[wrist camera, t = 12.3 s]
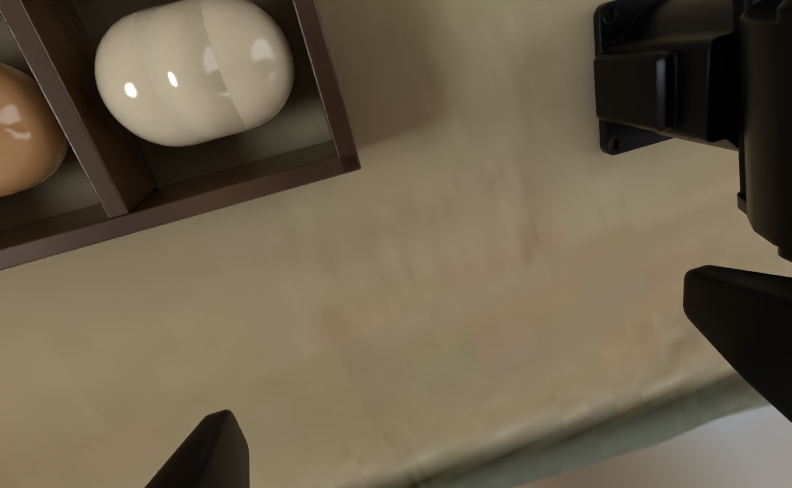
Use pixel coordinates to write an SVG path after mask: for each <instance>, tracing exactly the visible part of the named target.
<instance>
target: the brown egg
mask: <svg viewBox="0 0 792 488" xmlns="http://www.w3.org/2000/svg"><path fill="white" fill-rule="evenodd" d="M68 145H69V142H68V140H67V138H66V136H65V134H64V132H63V130H62V129H61V127H60V125H59V123H58V121H57V119H56V117H55V115H54V113H53V112H52V110H51V108H50V106H49V104H48V102H47V100H46V98H45V96H44V94H43V93H42V91H41V89H40V87H39V85H38V83H37V81H36V80H35V79H34V78H32V77H31V76H29V75H28V74H26V73H25V72H23V71H21V70H19V69H17V68H14V67H12V66H9V65H7V64H5V63H2V62H0V197H3V196H7V195H11V194H14V193H18V192H21V191H24V190H27V189H30V188H32V187H35V186H37V185H39V184H40V183H42V182H43V181H45V180H46V179H48V178H49V177H51V176H52V175H53V174H54V173H55V172H56V170H57V169H58V168H59V167H60V165H61V164H62V162H63V160H64V158H65V156H66V154H67V151H68Z"/></svg>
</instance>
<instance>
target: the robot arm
mask: <svg viewBox="0 0 792 488" xmlns="http://www.w3.org/2000/svg"><path fill="white" fill-rule="evenodd" d="M607 10H608V11H609V13H610V18H609V20H608V21H606V20H605V18H604V16H605V13H606V11H607ZM593 20H594V38H595V56H596V58H595V60H594V79H595V97H596V115H597V117H598V118H599V130H600V146H601V150H602V151H603V152H605V153H607V154H610V155H617V154H620V153H623V152H627V151H630V150H634V149H637V148H641V147H644V146H647V145H651V144H654V143H658V142H661V141H665V140H668V139H671V138H678V139H683V140H687V141H692V142H697V143H702V144H706V145H711V146H716V147H720V148H725V149H730V150H735V151H739V172H740V192H739V193H738V194H737V203H738V208H739V209H740V210H742V211H743V212H744V213H745V214H746V215H747V217H748V219H749V221H750V224H751V226H752V228H753V230H754V231H755V232H756V233H758V234H759V235H761V236H762V237H763V238H765V239H766V240H768V241H769V242H770V243H772V244H773V245H775V246H778V255H779V256H780V257H782V258H784V259H786V260H788V261H790V262H792V0H614V1H611V2H607V3H603V4H601V5H600V6H599V7H598V8H597V9H596V11H595V13H594V19H593ZM614 139H615V145H614V146H613V147H612V148H611V147H610V144H611V142H612V140H614ZM683 308H684V312H685V314H686V316H687V318H688V319H689V320H690V321H691V322H692V323H693V324H694V326H695V327H696V328H697V329H698V330H699V331H700V332H701V333H702V334H703V335H704V336H705V337H706V339H707V340H708V341H709V342H710V343H711V344H712V345H713V346H714V347H715V348H716V349H717V351H718V352H719V353H720V354H721V355H722V356H723V357H724V358H725V359H726V360H727V361H728V363H729V364H730V365H731V366H732V367H733V368H734V369H735V370H736V371H737V372H738V373H739V374H740V375H741V376H742V377H743V378H744V379H745V380H746V381H747V382H748V383H749V384H750V385H751V386H752V387H753V388H754V389H755V390H756V391H757V392H759V393H760V394H761V395H762V396H763V397H764V398H765V399H766V400H767V401H768V402H770V403H771V404H772V405H773V406H774V407H775V408H776V409H777V410H778V411H779V412H781V413H782V414H783V415H784V416H785V417H786V418H787V419H788V420H789V421H790V422H792V277H785V276H778V275H772V274H765V273H759V272H752V271H746V270H739V269H732V268H726V267H719V266H713V265H705V266H701V267H698V268H695V269H691V270H689V271H688V272H687V273H686V274H685V276H684V293H683ZM145 488H250V481H249V449H248V445H247V442H246V439H245V437H244V435H243V433H242V431H241V429H240V427H239V425H238V422H237V420H236V418H235V416H234V414H233V413H232V412H231V411H230V410H227V409H226V410H222V411H219V412H216V413H212V414H209V415H207V416H205V418H204V419H203V420H202V421H201V422H200V423H199V424H198V425H197V427H196V428H195V429H194V430H193V431H192V432H191V434H190V435H189V436H188V437H187V438H186V440H185V441H184V442H183V443H182V444H181V445H180V447H179V448H178V449H177V450H176V451H175V452H174V454H173V455H172V456H171V457H170V458H169V459H168V461H167V462H166V463H165V464H164V465H163V467H162V468H161V469H160V470H159V471H158V472H157V474H156V475H155V476H154V477H153V478H152V479H151V481H150V482H149V483H148V484H147V485H146V486H145Z"/></svg>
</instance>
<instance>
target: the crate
mask: <svg viewBox="0 0 792 488" xmlns="http://www.w3.org/2000/svg"><path fill="white" fill-rule="evenodd" d="M291 1H292V4H293V8H294V11H295V15H296V18H297V22H298V25H299V28H300V32H301V35H302V39H303V42H304V45H305V49H306V52H307V56H308V59H309V63H310V66H311V69H312V73H313V76H314V80H315V83H316V86H317V90H318V93H319V97H320V100H321V104H322V107H323V110H324V114H325V117H326V121H327V124H328V127H329V131H330V134H331V138H332V141H328V142H325V143H321V144H318V145H314V146H310V147H307V148H303V149H299V150H296V151H292V152H288V153H285V154H281V155H278V156H274V157H270V158H267V159H263V160H259V161H256V162H252V163H248V164H245V165H241V166H238V167H234V168H230V169H227V170H223V171H219V172H216V173H212V174H208V175H205V176H201V177H198V178H194V179H190V180H187V181H183V182H179V183H176V184H172V185H168V186H165V187H161V188H158V189H157V185H156V183H155V181H154V179H153V177H152V175H151V172H150V170H149V168H148V166H147V164H146V162H145V160H144V157H143V155H142V153H141V151H140V149H139V147H138V145H137V142H136V140H135V138H134V136H133V134H132V132H131V131H129V130H128V129H126V128H125V127H123V126H122V125H121V124H120V123H119V122H118V121H117V120H116V119H115V117H114V116H113V115H112V114H111V113H110V112H109V110H108V109H107V107H106V106H105V104H104V102H103V100H102V99H101V96H100V94H99V91H98V89H97V85H96V79H95V71H94V62H95V56H96V55H95V53H94V51H93V48H92V46H91V44H90V42H89V40H88V38H87V36H86V33H85V31H84V29H83V27H82V25H81V23H80V21H79V18H78V16H77V14H76V12H75V10H74V8H73V6H72V3H71V1H70V0H0V13H1V15H2V17H3V19H4V21H5V22H6V24H7V26H8V28H9V30H10V32H11V34H12V36H13V38H14V40H15V41H16V43H17V45H18V47H19V49H20V51H21V53H22V55H23V57H24V58H25V60H26V62H27V64H28V66H29V68H30V70H31V72H32V74H33V76H34V77H35V79H36V81H37V83H38V85H39V87H40V89H41V91H42V93H43V94H44V96H45V98H46V100H47V102H48V104H49V106H50V108H51V110H52V112H53V113H54V115H55V117H56V119H57V121H58V123H59V125H60V127H61V129H62V130H63V132H64V134H65V136H66V138H67V140H68V142H69V144H70V146H71V147H72V149H73V151H74V153H75V155H76V157H77V159H78V161H79V163H80V165H81V166H82V168H83V170H84V172H85V174H86V176H87V178H88V180H89V182H90V183H91V185H92V187H93V189H94V191H95V193H96V195H97V197H98V199H99V201H100V202H101V204H99V205H96V206H92V207H88V208H85V209H81V210H78V211H74V212H70V213H67V214H63V215H59V216H56V217H52V218H48V219H45V220H41V221H38V222H34V223H30V224H27V225H23V226H19V227H16V228H12V229H8V230H5V231H1V232H0V270H4V269H7V268H11V267H14V266H18V265H21V264H25V263H29V262H32V261H36V260H39V259H43V258H46V257H50V256H53V255H57V254H61V253H64V252H68V251H71V250H75V249H78V248H82V247H85V246H89V245H93V244H96V243H100V242H103V241H107V240H110V239H114V238H117V237H121V236H125V235H128V234H132V233H135V232H139V231H142V230H146V229H149V228H153V227H157V226H160V225H164V224H167V223H171V222H174V221H178V220H181V219H185V218H189V217H192V216H196V215H199V214H203V213H206V212H210V211H213V210H217V209H221V208H224V207H228V206H231V205H235V204H238V203H242V202H245V201H249V200H253V199H256V198H260V197H263V196H267V195H270V194H274V193H277V192H281V191H285V190H288V189H292V188H295V187H299V186H302V185H306V184H309V183H313V182H317V181H320V180H324V179H327V178H331V177H334V176H338V175H341V174H345V173H349V172H352V171H356V170H360V169H361V165H360V162H359V158H358V154H357V151H356V147H355V143H354V140H353V136H352V132H351V129H350V125H349V121H348V118H347V114H346V110H345V107H344V103H343V100H342V96H341V92H340V89H339V85H338V81H337V78H336V74H335V70H334V67H333V63H332V59H331V56H330V52H329V48H328V45H327V41H326V37H325V34H324V30H323V26H322V23H321V19H320V15H319V12H318V8H317V4H316V1H315V0H291Z"/></svg>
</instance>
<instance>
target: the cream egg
mask: <svg viewBox="0 0 792 488" xmlns="http://www.w3.org/2000/svg"><path fill="white" fill-rule="evenodd" d="M94 71H95V79H96V85H97V89H98V91H99V94H100V96H101V99H102V100H103V102H104V104H105V106H106V107H107V109H108V110H109V112H110V113H111V114H112V115H113V116H114V117H115V119H116V120H117V121H118V122H119V123H120V124H121V125H122V126H123V127H125V128H126V129H128V130H129V131H131V132H132V133H134V134H135V135H137V136H138V137H140V138H142V139H145V140H147V141H149V142H152V143H155V144H160V145H164V146H170V147H184V146H190V145H196V144H200V143H204V142H207V141H211V140H215V139H218V138H222V137H226V136H230V135H233V134H237V133H241V132H244V131H248V130H251V129H254V128H256V127H259V126H262V125H264V124H265V123H267V122H268V121H270V120H271V119H273V118H274V117H275V116H276V115H277V114H278V113H279V112H280V111H281V110H282V108H283V107H284V105H285V104H286V102H287V101H288V98H289V96H290V93H291V91H292V87H293V81H294V60H293V56H292V51H291V48H290V46H289V43H288V41H287V38H286V36H285V35H284V33H283V31H282V30H281V28H280V27H279V25H278V24H277V23H276V22H275V21H274V20H273V18H272V17H271V16H270V15H269V14H268V13H266V12H265V11H264V10H262V9H261V8H260V7H259V6H257V5H255V4H253V3H251V2H249V1H248V0H180V1H176V2H172V3H168V4H164V5H159V6H155V7H151V8H147V9H143V10H139V11H136V12H134V13H131V14H128V15H126V16H124V17H123V18H121V19H120V20H118V21H117V22H115V23H114V24H113V25H112V26H111V27H110V28H109V30H108V31H107V32H106V33H105V34H104V35H103V37H102V39H101V41H100V43H99V45H98V47H97V51H96V56H95V62H94Z"/></svg>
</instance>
